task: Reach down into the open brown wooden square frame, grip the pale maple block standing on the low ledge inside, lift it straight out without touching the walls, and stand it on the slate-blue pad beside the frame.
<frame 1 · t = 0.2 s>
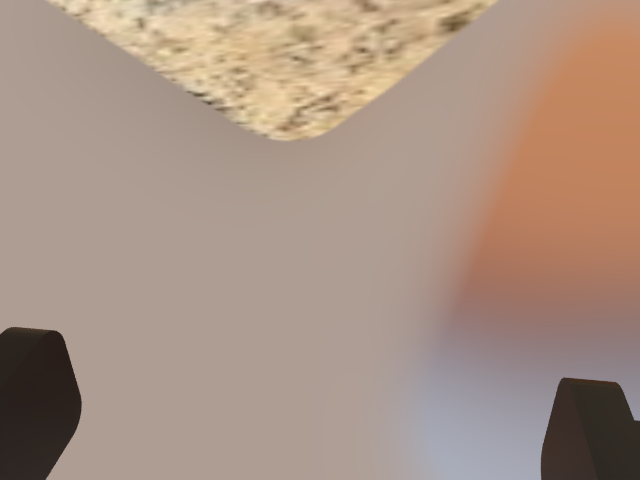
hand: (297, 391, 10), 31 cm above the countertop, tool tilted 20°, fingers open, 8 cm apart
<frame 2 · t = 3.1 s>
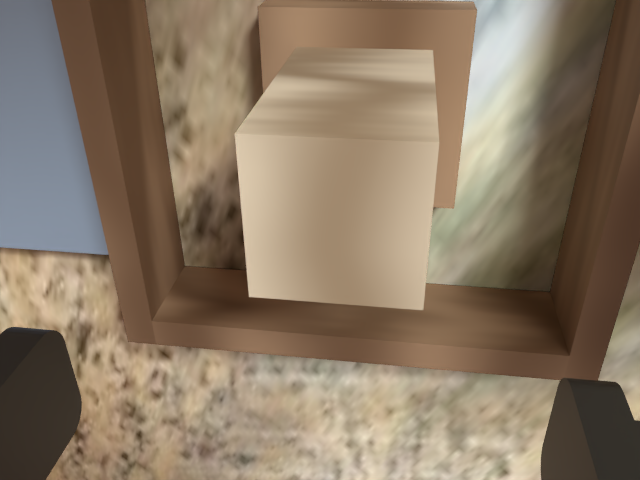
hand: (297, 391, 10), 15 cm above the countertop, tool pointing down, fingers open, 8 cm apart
maple block: (362, 114, 21), point 1 cm above the countertop, touching brown wooden square frame
brown wooden square frame: (365, 100, 22), on the countertop
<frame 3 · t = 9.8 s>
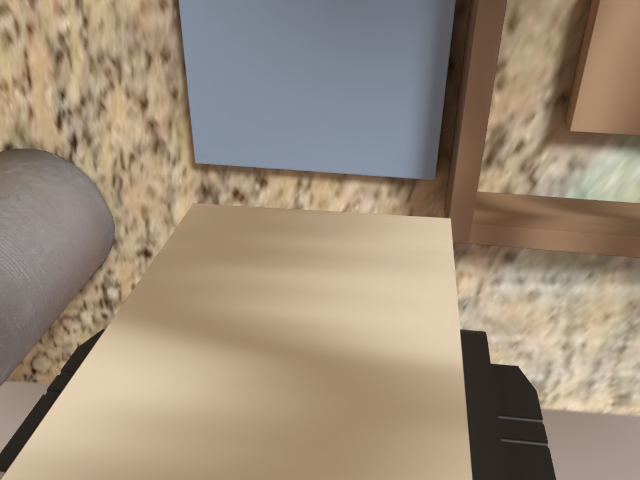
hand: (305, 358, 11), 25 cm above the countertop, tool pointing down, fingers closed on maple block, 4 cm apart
pillar candle: (50, 213, 41), on the countertop
maple block: (320, 314, 12), point 24 cm above the countertop, touching gripper
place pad: (315, 43, 32), on the countertop
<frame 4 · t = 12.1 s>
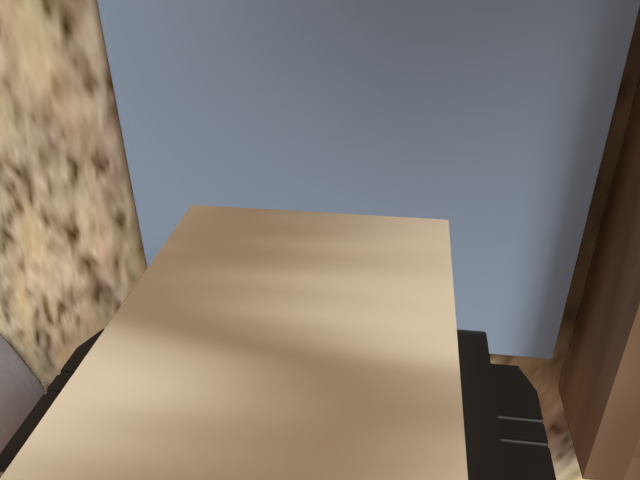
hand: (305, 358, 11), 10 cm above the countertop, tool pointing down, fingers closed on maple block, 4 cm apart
maple block: (318, 315, 12), point 8 cm above the countertop, touching gripper
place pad: (353, 145, 19), on the countertop
when the fingers open (4 cm above the countertop, at t = 14.1 s): maple block drops 1 cm, resting on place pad.
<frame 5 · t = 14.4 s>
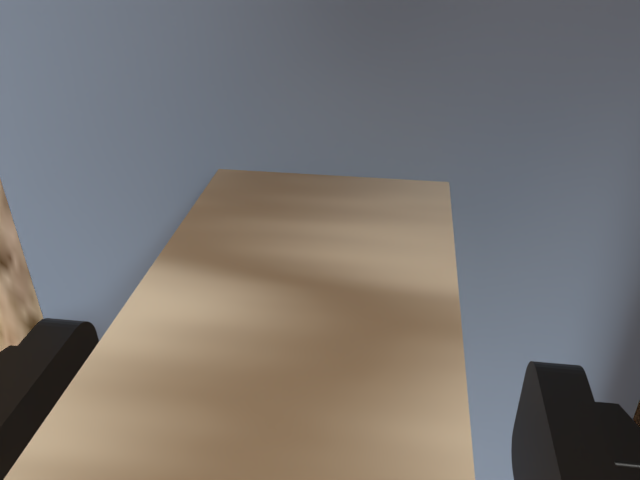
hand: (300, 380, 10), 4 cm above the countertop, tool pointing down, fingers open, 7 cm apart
maple block: (330, 271, 13), point 1 cm above the countertop, touching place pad
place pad: (332, 245, 14), on the countertop
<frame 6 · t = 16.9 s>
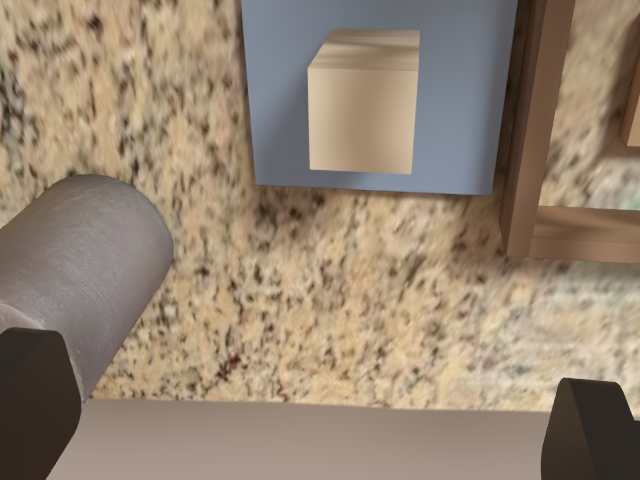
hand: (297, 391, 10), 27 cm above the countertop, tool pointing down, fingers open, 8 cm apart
pillar candle: (110, 235, 42), on the countertop
maple block: (374, 72, 33), point 1 cm above the countertop, touching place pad
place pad: (374, 67, 33), on the countertop
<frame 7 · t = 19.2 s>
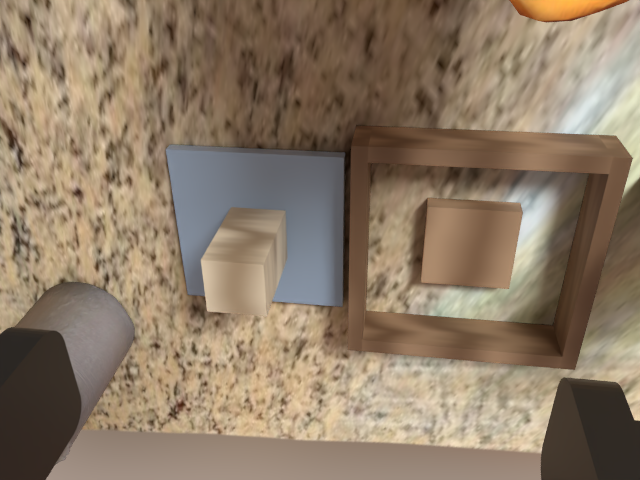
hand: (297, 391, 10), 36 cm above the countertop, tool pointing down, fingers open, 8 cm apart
pillar candle: (90, 320, 60), on the countertop
maple block: (259, 232, 50), point 1 cm above the countertop, touching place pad
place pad: (261, 226, 51), on the countertop
brown wooden square frame: (468, 239, 49), on the countertop
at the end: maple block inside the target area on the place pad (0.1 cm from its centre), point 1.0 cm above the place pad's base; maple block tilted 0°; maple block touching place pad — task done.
